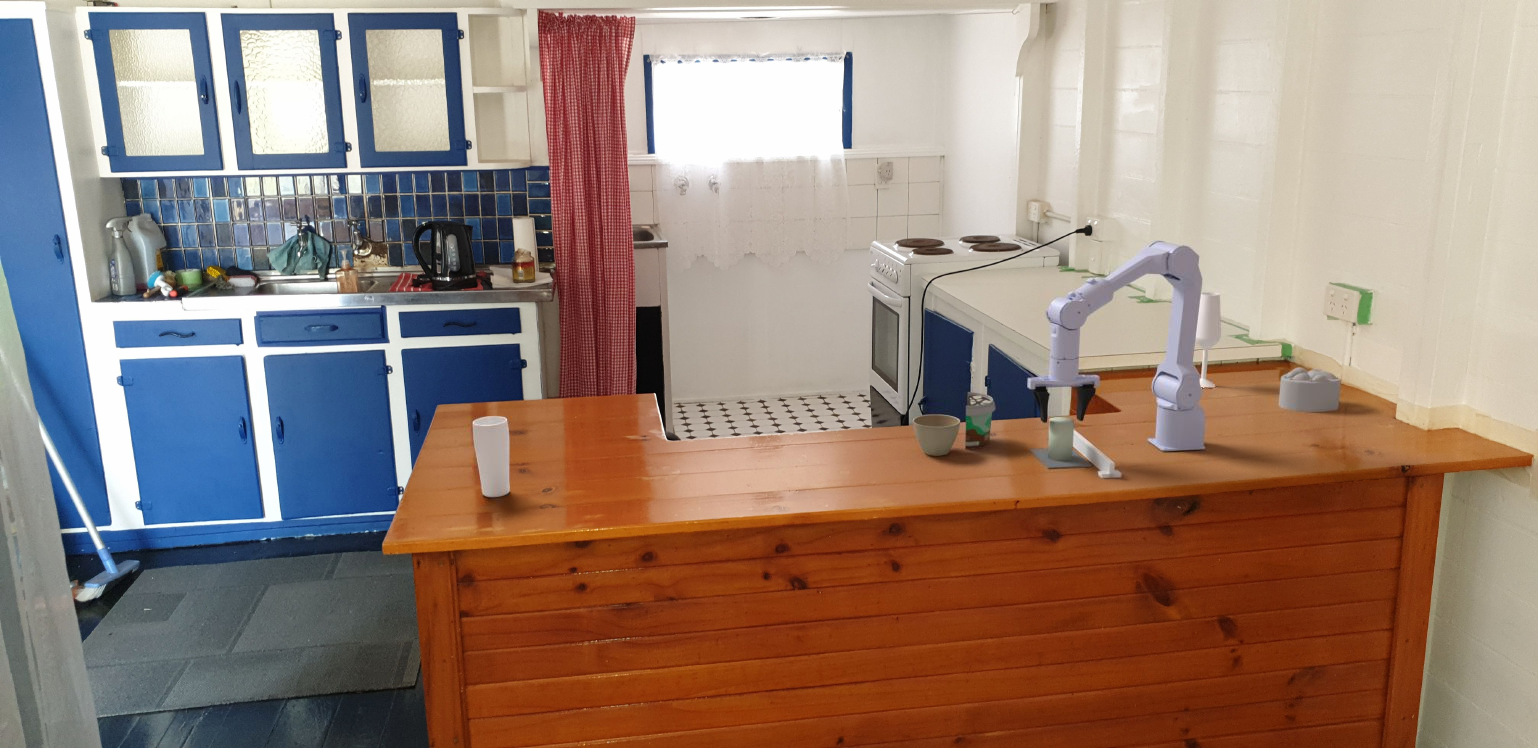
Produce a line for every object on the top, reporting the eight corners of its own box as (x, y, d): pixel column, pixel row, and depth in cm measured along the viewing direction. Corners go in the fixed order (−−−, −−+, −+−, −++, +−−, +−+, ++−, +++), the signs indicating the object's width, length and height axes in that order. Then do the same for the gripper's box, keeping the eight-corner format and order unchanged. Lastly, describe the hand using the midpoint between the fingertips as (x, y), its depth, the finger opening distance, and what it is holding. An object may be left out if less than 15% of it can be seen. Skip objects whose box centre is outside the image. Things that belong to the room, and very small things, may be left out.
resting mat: (1071, 448, 240) (1071, 447, 240) (1091, 466, 228) (1091, 465, 228) (1030, 450, 239) (1030, 449, 239) (1048, 468, 228) (1048, 467, 228)
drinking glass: (481, 488, 224) (475, 416, 220) (515, 486, 224) (510, 415, 220) (475, 500, 217) (469, 426, 213) (511, 498, 218) (505, 424, 214)
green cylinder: (1067, 453, 236) (1069, 416, 235) (1075, 460, 232) (1077, 423, 230) (1044, 454, 236) (1046, 417, 234) (1052, 461, 231) (1053, 424, 229)
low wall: (1075, 438, 247) (1076, 425, 246) (1121, 477, 222) (1122, 462, 221) (1058, 439, 247) (1058, 426, 246) (1101, 478, 222) (1102, 463, 221)
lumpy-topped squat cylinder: (1344, 409, 264) (1348, 374, 262) (1295, 414, 262) (1298, 378, 260) (1315, 398, 274) (1318, 364, 272) (1267, 402, 272) (1270, 368, 270)
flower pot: (965, 448, 242) (965, 416, 240) (951, 462, 233) (952, 429, 232) (920, 443, 246) (921, 411, 245) (906, 456, 238) (906, 424, 236)
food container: (994, 452, 239) (995, 407, 237) (965, 451, 240) (965, 406, 238) (994, 435, 251) (995, 392, 248) (966, 434, 252) (967, 391, 250)
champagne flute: (1191, 388, 286) (1198, 295, 280) (1186, 382, 292) (1193, 291, 286) (1219, 389, 285) (1226, 296, 279) (1213, 382, 291) (1220, 291, 285)
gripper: (1091, 350, 233) (1089, 413, 236) (1023, 353, 232) (1021, 416, 235) (1104, 358, 226) (1101, 423, 229) (1034, 361, 225) (1032, 426, 228)
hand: (1061, 420), depth 232 cm, fingers open, 7 cm apart
